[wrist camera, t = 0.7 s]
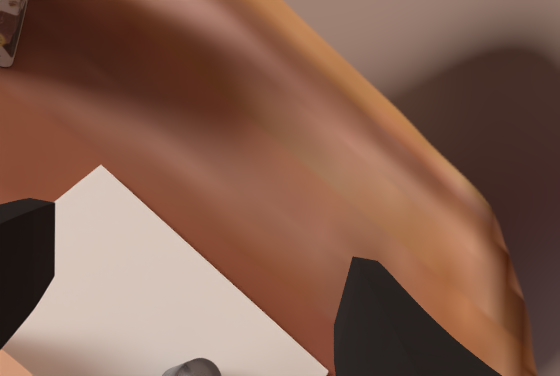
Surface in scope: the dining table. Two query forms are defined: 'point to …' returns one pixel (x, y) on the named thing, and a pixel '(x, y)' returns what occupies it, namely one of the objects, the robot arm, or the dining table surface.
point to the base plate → (142, 300)
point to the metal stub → (194, 368)
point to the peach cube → (11, 366)
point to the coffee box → (10, 28)
